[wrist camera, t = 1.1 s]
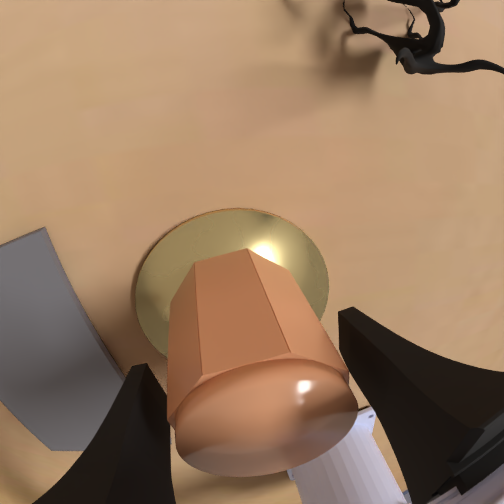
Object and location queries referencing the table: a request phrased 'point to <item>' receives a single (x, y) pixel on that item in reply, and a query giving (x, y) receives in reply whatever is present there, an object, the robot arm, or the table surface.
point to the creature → (425, 42)
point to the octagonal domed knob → (252, 370)
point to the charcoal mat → (50, 349)
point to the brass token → (218, 243)
